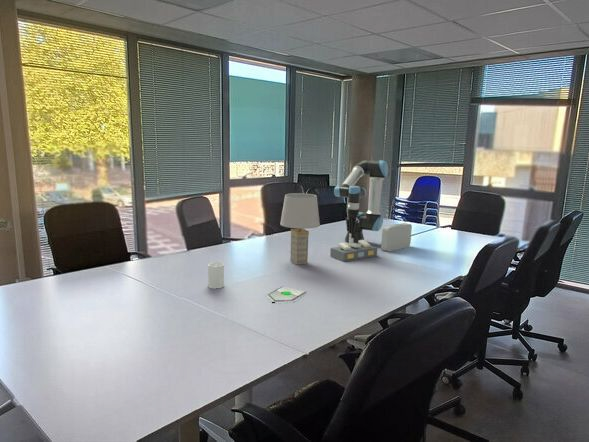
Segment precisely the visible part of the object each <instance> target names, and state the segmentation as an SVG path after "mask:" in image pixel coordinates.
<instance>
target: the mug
mask: <svg viewBox="0 0 589 442" xmlns="http://www.w3.org/2000/svg"><path fill="white" fill-rule="evenodd" d="M224 267H225V265H224V263H223V262H219V261H217V262H215V261H214V262H213V261H212V262H209V263H208V264H207V275H208V276H207V277H208V278H207V279H208V280H207V282H208V283H207V287H208V288H209V289H212V288H213V289H214V290H217V289H216V288H219V289H222V287H223V288H224V287H225V278H224V277H225V268H224Z"/></svg>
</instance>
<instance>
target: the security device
mask: <svg viewBox="0 0 589 442" xmlns="http://www.w3.org/2000/svg"><path fill="white" fill-rule="evenodd" d="M306 293H307V294H308V292H307V291H305V290H301V289H298V288H297V289H296V288H291V287H288V286H284V285H283V286H280V287H279V288H277V289H276V290H273V291H272V292H270V293H268V294H266V295H267V296H268V297H269V298H271V300H272V301H273V302H285V301H287V302H288V301H289V302H290V301H291V302H292V301H294V300H296V299H298V298H299V297H301V296H303V295H304V294H306ZM307 294H306V295H307ZM304 296H305V295H304ZM304 296H303V297H304ZM301 298H302V297H301ZM298 300H299V299H298Z"/></svg>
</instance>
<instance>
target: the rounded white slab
mask: <svg viewBox="0 0 589 442" xmlns="http://www.w3.org/2000/svg"><path fill="white" fill-rule="evenodd" d="M381 229H382V232H381V242H380V243H381V244H380V245H381V246H380V248H381V250H382V251H385V252H388V253H389V252H393V251H397V250H398V251H399V250H402V248H403V249H406V248H409V247H410V246H411V243H412V242H411V241H412V224H411V223H406V222H403V223H397V224H391V225H385V226H383V227H382V228H381Z"/></svg>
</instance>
